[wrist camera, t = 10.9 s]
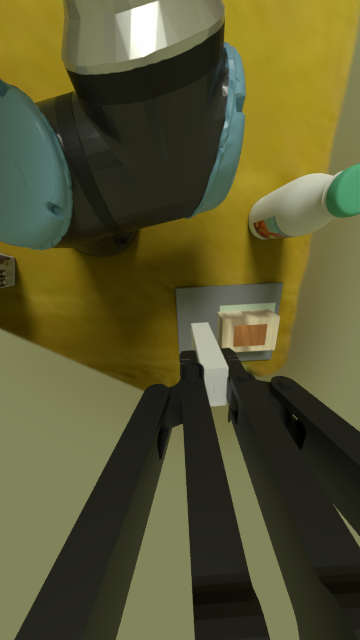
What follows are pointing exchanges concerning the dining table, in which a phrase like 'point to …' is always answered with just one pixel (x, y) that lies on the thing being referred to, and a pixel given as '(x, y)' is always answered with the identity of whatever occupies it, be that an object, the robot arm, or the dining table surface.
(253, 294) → the topple mat
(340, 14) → the dining table surface
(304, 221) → the milk bottle
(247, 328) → the maple block
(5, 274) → the coffee box
